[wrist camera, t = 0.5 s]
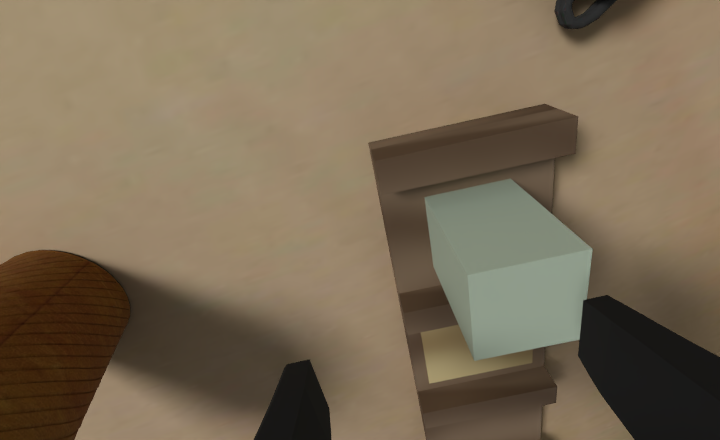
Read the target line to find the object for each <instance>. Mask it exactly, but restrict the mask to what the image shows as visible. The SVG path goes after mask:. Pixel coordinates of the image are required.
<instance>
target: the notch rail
mask: <svg viewBox="0 0 720 440" xmlns="http://www.w3.org/2000/svg"><path fill="white" fill-rule="evenodd" d="M577 126H578V116H575V115H573V114H570V113H567V112H565V111H562V110H560V109H557V108H554V107H552V106H549V105H546V104H542V105H538V106H533V107H529V108H524V109H520V110H515V111H511V112H506V113H502V114H497V115H493V116H488V117H483V118H479V119H474V120H470V121H465V122H461V123H456V124H452V125H447V126H443V127H438V128H434V129H429V130H425V131H420V132H416V133H411V134H406V135H402V136H397V137H393V138H388V139H384V140H379V141H375V142H370V143H369V148H370V154H371V159H372V164H373V169H374V174H375V179H376V184H377V189H378V195H379V200H380V205H381V210H382V215H383V220H384V225H385V230H386V235H387V241H388V246H389V251H390V256H391V261H392V266H393V271H394V276H395V281H396V287H397V292H398V297H399V302H400V307H401V312H402V317H403V322H404V327H405V333H406V338H407V343H408V348H409V353H410V358H411V363H412V368H413V374H414V379H415V384H416V389H417V394H418V399H419V404H420V409H421V414H422V420H423V425H424V430H425V435H426V440H540V437H541V417H542V405H547V404H552V403H556V395H557V386H556V384H555V383H554V381H553V379H552V378H551V376H550V375H549V373H548V371H547V370H546V368H545V367H544V358H545V347H540V348H536V349H531V350H526V351H521V352H516V353H511V354H506V355H501V356H496V357H491V358H486V359H481V360H477V361H474V359H473V357H472V355H471V352H470V350H469V348H468V345H467V343H466V341H465V338H464V336H463V334H462V331H461V329H460V327H459V325H458V322H457V320H456V318H455V315H454V313H453V311H452V308H451V306H450V304H449V301H448V299H447V297H446V294H445V292H444V290H443V288H442V285H441V283H440V281H439V278H438V276H437V274H436V271H435V269H434V266H433V259H432V251H431V244H430V236H429V228H428V221H427V213H426V205H425V198H424V197H427V196H432V195H436V194H441V193H446V192H450V191H455V190H459V189H464V188H469V187H473V186H478V185H483V184H487V183H492V182H497V181H501V180H506V179H510V178H511V179H512V180H513V181H514V182H515V183H516V184H518V185H519V186H520V187H521V188H522V189H523V190H525V191H526V192H527V193H528V194H529V195H530V196H532V197H533V198H534V199H535V200H536V201H537V202H539V203H540V204H541V205H542V206H543V207H544V208H546V209H547V210H548V211H549V212H550V213H551V214H552V201H553V181H554V161H555V158H556V157H561V156H566V155H570V154H575V152H576V139H577Z"/></svg>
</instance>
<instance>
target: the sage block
mask: <svg viewBox="0 0 720 440" xmlns="http://www.w3.org/2000/svg"><path fill="white" fill-rule="evenodd" d="M424 198H425V205H426V213H427V221H428V228H429V236H430V244H431V251H432V259H433V266H434V269H435V271H436V274H437V276H438V278H439V281H440V283H441V285H442V288H443V290H444V292H445V294H446V297H447V299H448V301H449V304H450V306H451V308H452V311H453V313H454V315H455V318H456V320H457V322H458V325H459V327H460V329H461V331H462V334H463V336H464V338H465V341H466V343H467V345H468V348H469V350H470V352H471V355H472V357H473V359H474V361H477V360H481V359H486V358H491V357H496V356H501V355H506V354H511V353H516V352H521V351H526V350H531V349H536V348H540V347H545V346H550V345H555V344H560V343H565V342H570V341H575V340H580V330H581V319H582V308H583V300H587V293H588V284H589V276H590V267H591V258H592V250H593V249H592V248H591V247H590V246H589V245H587V244H586V243H585V242H584V241H583V240H582V239H580V238H579V237H578V236H577V235H576V234H575V233H573V232H572V231H571V230H570V229H569V228H568V227H566V226H565V225H564V224H563V223H562V222H561V221H560V220H558V219H557V218H556V217H555V216H554V215H553V214H551V213H550V212H549V211H548V210H547V209H546V208H544V207H543V206H542V205H541V204H540V203H539V202H537V201H536V200H535V199H534V198H533V197H532V196H530V195H529V194H528V193H527V192H526V191H525V190H523V189H522V188H521V187H520V186H519V185H518V184H516V183H515V182H514V181H513V180H512V179H511V178H510V179H506V180H501V181H497V182H492V183H487V184H483V185H478V186H473V187H469V188H464V189H459V190H455V191H450V192H446V193H441V194H436V195H432V196H427V197H424Z"/></svg>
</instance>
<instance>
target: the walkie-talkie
mask: <svg viewBox="0 0 720 440" xmlns="http://www.w3.org/2000/svg"><path fill="white" fill-rule="evenodd" d="M573 1H574V0H557V1H556V6H555V14H556V17H557V20H558V23H559V24H560V25H561V26H563V27H564V28H566V29H580V28H583V27H585V26H587V25H589V24H590V23H592V22H594V21H595V20H597V19H598V18H599V17H600V16H601V15H602V14H603V13H604V12H605V11H606V10H607V9H608V8H609V7H610V6H611V5H612V4H613V3H615V2H616V1H617V0H596V1H595V2H594V3H593V4H592V5H591V6H590V7H589V8H588V9H587V10H586V11H585V12H584V13H583V14H581V15H579V16H577V17H574V14H573V11H572V3H573Z"/></svg>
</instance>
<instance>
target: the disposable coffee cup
mask: <svg viewBox="0 0 720 440" xmlns="http://www.w3.org/2000/svg"><path fill="white" fill-rule="evenodd" d="M129 317H130V305H129V301H128V297H127V295H126V293H125V292H124V290H123V288H122V287H121V286H120V284H119V283H118V282H117V281H116V280H115V279H114V278H113V277H112V276H111V275H110V274H109V273H108V272H107V271H105V270H104V269H102V268H101V267H99V266H98V265H96V264H95V263H92V262H90V261H88V260H86V259H83V258H81V257H79V256H76V255H72V254H69V253H64V252H59V251H48V250H38V251H31V252H26V253H23V254H20V255H17V256H15V257H13V258H11V259H10V260H8V261H6V262H5V263H3V264H1V265H0V440H74V439H75V437H76V434H77V431H78V428H80V426H81V424H82V421H83V419H84V416H85V414H86V413H87V410H88V408H89V405H90V403H91V401H92V400H93V397H94V395H95V392H96V390H97V388H98V387H99V384H100V382H101V379H102V376H103V375H104V373H105V371H106V368H107V365H109V362H110V360H111V357H112V355H113V354H114V351H115V349H116V346H117V344H118V342H119V340H120V338H121V335H122V334H123V331H124V329H125V327H126V325H127V324H128V320H129Z"/></svg>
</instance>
